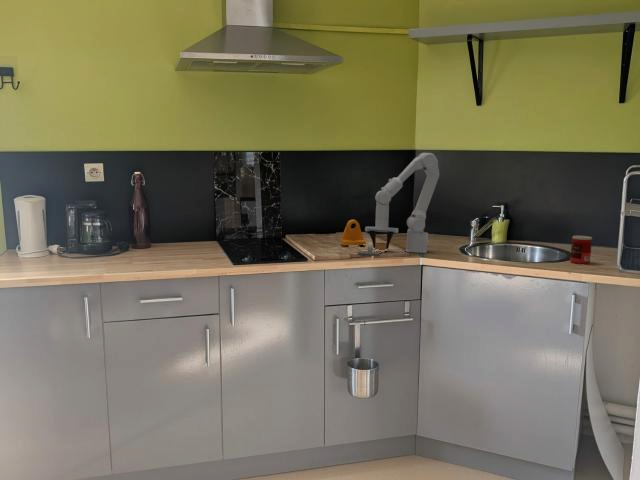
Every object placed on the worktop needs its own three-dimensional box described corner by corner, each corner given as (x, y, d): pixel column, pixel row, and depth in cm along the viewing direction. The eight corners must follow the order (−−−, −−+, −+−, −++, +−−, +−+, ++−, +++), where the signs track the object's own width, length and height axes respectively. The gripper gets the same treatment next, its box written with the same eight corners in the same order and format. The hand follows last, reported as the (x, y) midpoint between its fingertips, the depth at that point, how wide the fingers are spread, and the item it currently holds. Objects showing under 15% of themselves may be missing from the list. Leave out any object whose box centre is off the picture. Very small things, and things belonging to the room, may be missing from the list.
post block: (381, 252, 271) (382, 241, 270) (378, 256, 262) (379, 244, 261) (361, 251, 273) (361, 240, 272) (357, 254, 264) (358, 243, 263)
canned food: (589, 262, 260) (592, 236, 258) (589, 265, 252) (592, 238, 251) (570, 260, 263) (572, 234, 261) (569, 263, 255) (571, 237, 254)
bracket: (342, 247, 284) (343, 221, 282) (340, 244, 291) (341, 219, 289) (365, 247, 285) (366, 221, 283) (363, 244, 292) (364, 219, 290)
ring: (387, 250, 277) (387, 242, 276) (385, 252, 272) (386, 244, 271) (375, 249, 278) (376, 242, 277) (374, 251, 273) (374, 243, 272)
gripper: (364, 218, 270) (363, 248, 273) (397, 219, 267) (396, 250, 269) (367, 216, 277) (366, 245, 279) (399, 217, 274) (398, 247, 276)
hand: (380, 248), depth 275 cm, fingers closed on ring, 5 cm apart
